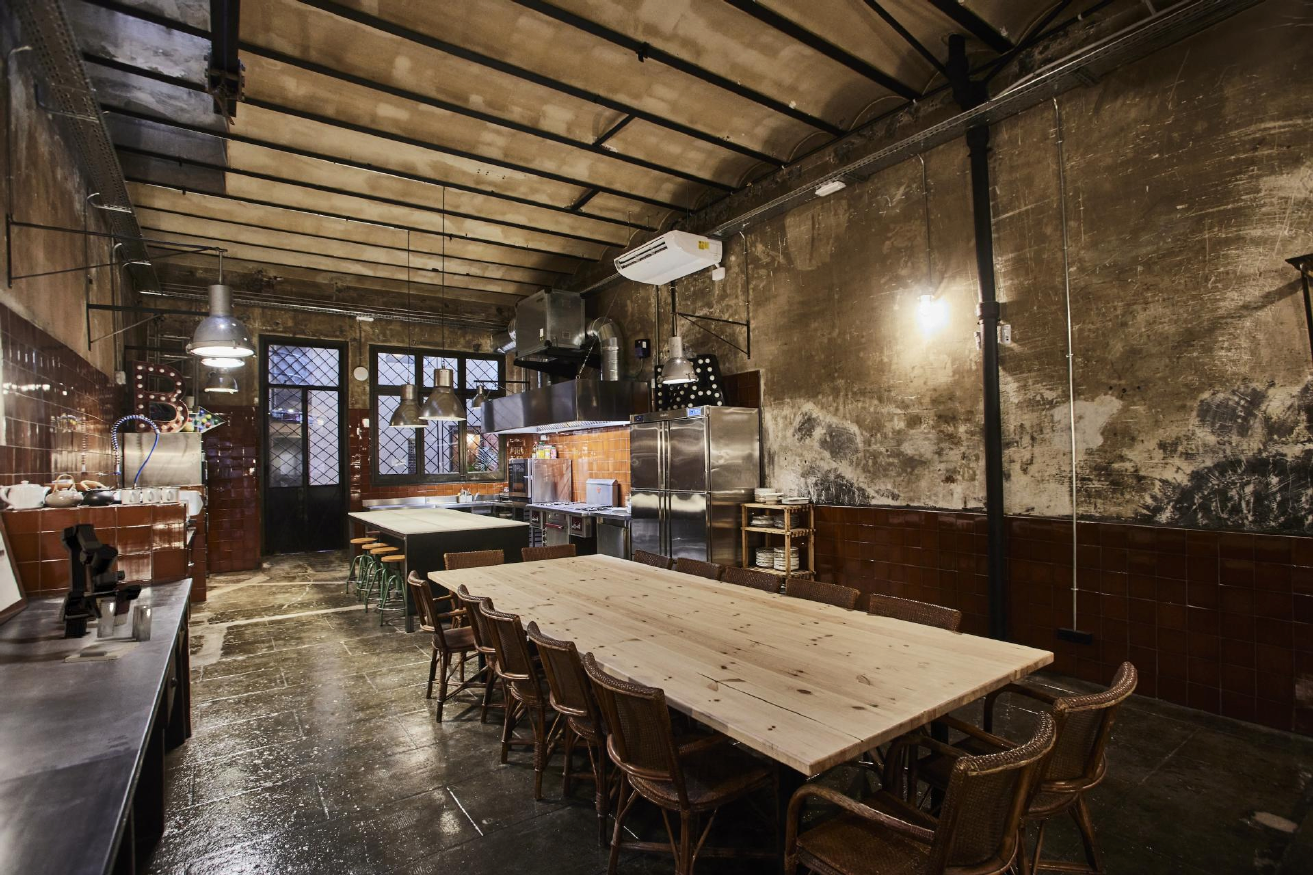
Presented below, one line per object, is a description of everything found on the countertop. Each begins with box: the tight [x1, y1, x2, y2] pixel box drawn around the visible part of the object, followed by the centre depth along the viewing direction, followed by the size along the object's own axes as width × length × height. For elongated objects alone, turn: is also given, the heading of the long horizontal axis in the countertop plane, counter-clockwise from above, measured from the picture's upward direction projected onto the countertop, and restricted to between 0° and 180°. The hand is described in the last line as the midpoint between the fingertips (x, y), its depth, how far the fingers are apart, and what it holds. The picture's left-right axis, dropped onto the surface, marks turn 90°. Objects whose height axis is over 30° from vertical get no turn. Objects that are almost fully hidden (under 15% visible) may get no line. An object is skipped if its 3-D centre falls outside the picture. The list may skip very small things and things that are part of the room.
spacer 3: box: [135, 606, 153, 643], centre depth 217 cm, size 4×4×11 cm
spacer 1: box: [96, 601, 116, 639], centre depth 201 cm, size 4×4×11 cm
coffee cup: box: [101, 583, 132, 627], centre depth 237 cm, size 10×10×15 cm
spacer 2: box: [131, 604, 149, 640], centre depth 220 cm, size 4×4×11 cm
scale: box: [64, 641, 141, 663], centre depth 201 cm, size 16×13×2 cm
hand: (107, 616), depth 201 cm, fingers closed on spacer 1, 4 cm apart
